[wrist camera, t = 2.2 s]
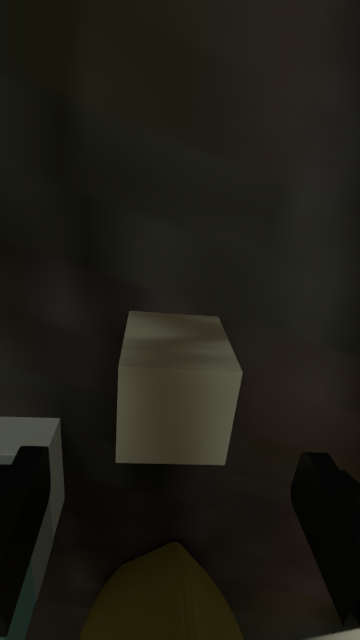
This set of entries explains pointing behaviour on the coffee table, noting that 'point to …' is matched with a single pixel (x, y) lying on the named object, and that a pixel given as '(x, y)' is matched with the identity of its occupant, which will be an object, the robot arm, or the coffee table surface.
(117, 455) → the birch block
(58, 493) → the slab bottom
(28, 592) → the slab top
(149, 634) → the flower pot
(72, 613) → the coffee table surface
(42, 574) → the slab middle
